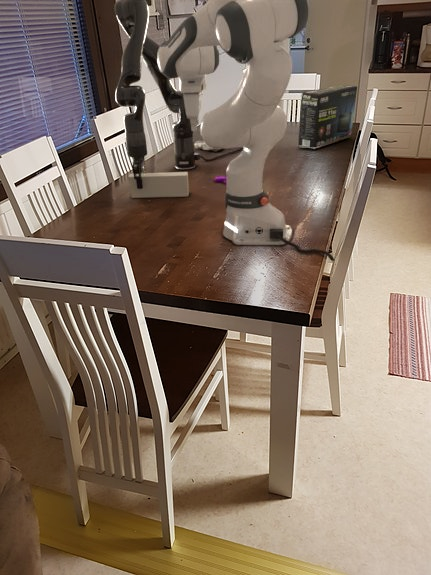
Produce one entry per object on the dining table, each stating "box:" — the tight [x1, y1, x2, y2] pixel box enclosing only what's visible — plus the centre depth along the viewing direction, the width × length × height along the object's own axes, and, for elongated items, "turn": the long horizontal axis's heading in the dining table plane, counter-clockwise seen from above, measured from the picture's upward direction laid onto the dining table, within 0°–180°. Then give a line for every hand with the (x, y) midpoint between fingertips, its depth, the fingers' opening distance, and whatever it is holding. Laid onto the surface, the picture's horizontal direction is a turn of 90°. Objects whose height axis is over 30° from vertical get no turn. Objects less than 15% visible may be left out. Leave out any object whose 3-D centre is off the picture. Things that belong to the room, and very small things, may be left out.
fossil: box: [194, 139, 223, 153], centre depth 243 cm, size 18×11×15 cm
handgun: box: [214, 176, 226, 184], centre depth 189 cm, size 21×8×2 cm, turn 11°
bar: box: [128, 171, 190, 199], centre depth 182 cm, size 23×4×8 cm, turn 89°
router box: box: [297, 84, 358, 151], centre depth 238 cm, size 36×11×27 cm, turn 134°
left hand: (141, 185), depth 182 cm, fingers open, 5 cm apart
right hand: (195, 127), depth 156 cm, fingers open, 8 cm apart
